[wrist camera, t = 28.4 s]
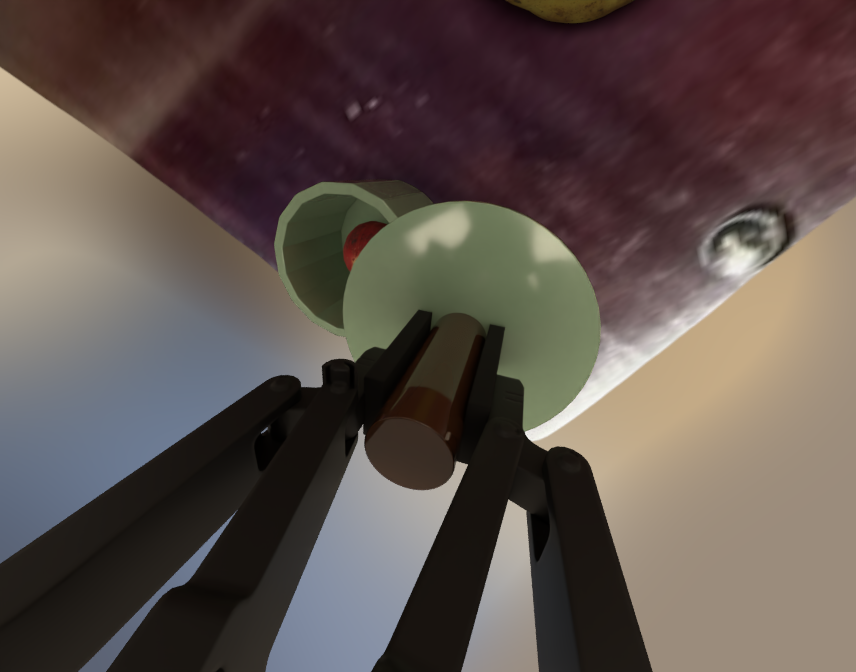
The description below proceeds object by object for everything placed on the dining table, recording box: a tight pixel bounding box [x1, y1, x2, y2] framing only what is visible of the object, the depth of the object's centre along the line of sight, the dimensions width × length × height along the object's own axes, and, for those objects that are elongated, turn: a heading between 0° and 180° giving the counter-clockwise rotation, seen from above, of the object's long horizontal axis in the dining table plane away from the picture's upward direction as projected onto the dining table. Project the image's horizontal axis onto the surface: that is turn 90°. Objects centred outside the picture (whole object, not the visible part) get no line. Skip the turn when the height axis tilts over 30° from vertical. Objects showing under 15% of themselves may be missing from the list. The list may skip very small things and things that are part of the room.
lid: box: [343, 200, 601, 490], centre depth 15 cm, size 14×14×10 cm
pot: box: [274, 179, 433, 337], centre depth 32 cm, size 13×13×10 cm
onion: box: [343, 221, 387, 272], centre depth 33 cm, size 6×6×8 cm
